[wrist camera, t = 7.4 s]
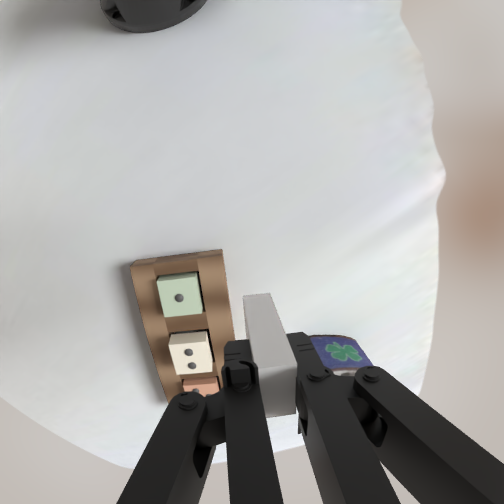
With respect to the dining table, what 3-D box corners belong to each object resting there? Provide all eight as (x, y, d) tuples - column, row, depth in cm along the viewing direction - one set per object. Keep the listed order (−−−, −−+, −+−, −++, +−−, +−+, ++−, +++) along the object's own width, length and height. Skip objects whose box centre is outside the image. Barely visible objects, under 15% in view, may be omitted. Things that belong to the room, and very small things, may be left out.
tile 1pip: (160, 274, 35) (156, 281, 33) (197, 270, 35) (195, 277, 33) (167, 308, 36) (164, 317, 34) (203, 304, 37) (201, 313, 34)
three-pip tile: (184, 375, 39) (182, 386, 36) (216, 372, 39) (216, 383, 37) (191, 397, 40) (190, 409, 38) (221, 395, 40) (221, 407, 38)
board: (136, 260, 36) (129, 267, 33) (222, 249, 37) (222, 255, 34) (174, 400, 42) (172, 413, 39) (243, 394, 43) (245, 407, 40)
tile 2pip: (171, 334, 36) (168, 345, 33) (206, 331, 36) (205, 341, 33) (178, 363, 37) (176, 375, 34) (212, 360, 37) (212, 372, 35)
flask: (298, 349, 41) (319, 396, 31) (303, 331, 41) (327, 376, 30) (353, 352, 43) (383, 394, 32) (359, 336, 42) (392, 376, 32)
